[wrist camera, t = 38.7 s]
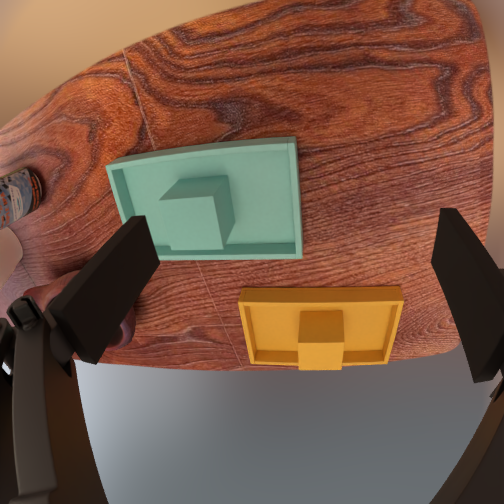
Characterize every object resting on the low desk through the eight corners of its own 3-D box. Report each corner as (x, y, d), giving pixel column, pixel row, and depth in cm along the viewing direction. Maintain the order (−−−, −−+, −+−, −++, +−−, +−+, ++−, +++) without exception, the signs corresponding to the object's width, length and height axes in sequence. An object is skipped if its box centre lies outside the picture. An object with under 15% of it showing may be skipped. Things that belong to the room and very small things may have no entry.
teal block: (227, 174, 29) (213, 196, 25) (235, 222, 32) (223, 249, 27) (178, 179, 30) (157, 200, 26) (189, 224, 33) (171, 250, 28)
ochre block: (342, 310, 36) (344, 342, 31) (340, 338, 38) (341, 370, 34) (300, 310, 37) (297, 342, 32) (301, 338, 39) (298, 370, 35)
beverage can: (48, 211, 36) (-11, 262, 26) (14, 194, 35) (-43, 238, 25) (48, 169, 32) (-20, 216, 22) (13, 155, 32) (-52, 194, 22)
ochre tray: (399, 285, 33) (404, 300, 31) (385, 349, 39) (387, 364, 37) (242, 287, 37) (237, 302, 35) (253, 349, 43) (250, 363, 41)
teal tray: (296, 136, 26) (294, 142, 24) (303, 244, 32) (302, 259, 30) (118, 157, 30) (105, 165, 28) (144, 248, 36) (135, 260, 34)
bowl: (119, 248, 37) (85, 288, 30) (160, 323, 43) (138, 366, 37) (46, 262, 41) (15, 294, 35) (84, 323, 48) (62, 357, 41)
